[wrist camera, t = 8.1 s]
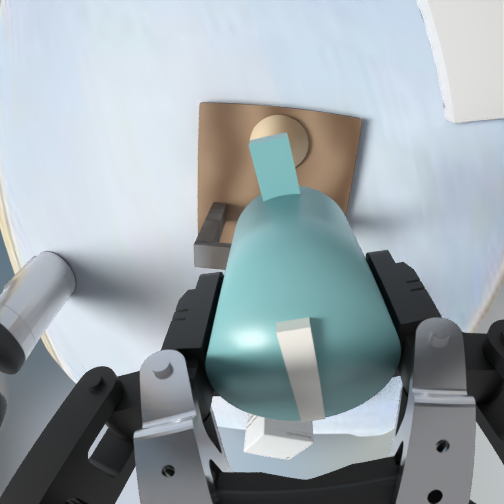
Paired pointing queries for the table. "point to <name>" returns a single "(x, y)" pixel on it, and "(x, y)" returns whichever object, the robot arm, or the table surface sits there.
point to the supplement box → (276, 437)
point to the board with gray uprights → (243, 172)
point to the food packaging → (468, 56)
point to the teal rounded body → (297, 304)
